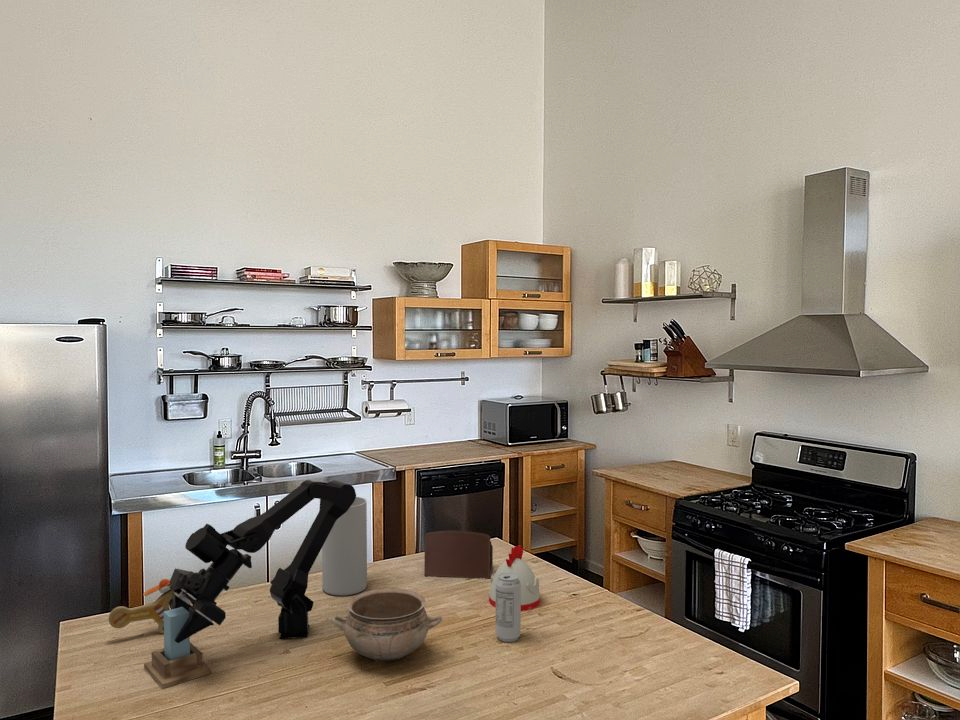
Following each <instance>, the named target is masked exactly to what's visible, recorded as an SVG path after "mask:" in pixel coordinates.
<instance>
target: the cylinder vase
mask: <svg viewBox="0 0 960 720" xmlns="http://www.w3.org/2000/svg"><path fill="white" fill-rule="evenodd" d="M367 510H368V509H367V499H366V498H364V497H360V496H356V498H355V501H354V502H353V504H352V505H351V507H350V508H349V509H348V511H347V512H346V513H345V514H343V515H342V516H341V517H340V518H338V519H337V520H336V522H335V524H334V526H333V528H332V530H331V532H330V533H329V535H328V537H327V539H326V541H325V543H324V545H323V547H322V549H321V560H322V562H321V565H322V566H321V573H322V575H321V577H322V578H321V580H322V581H321V583H322V586H321V587H322V590H323V591H324V592H325V593H326V594H328V595H332V596H338V597H340V596H341V597H342V596H345V597H346V596H353V595H356V594H360V593H361V592H363V591H364V590H366V589H367V586H368V539H367V538H368V537H367V536H368V534H367V533H368V530H367V529H368V527H367V526H368V525H367V524H368V523H367V522H368V519H367V518H368V517H367V516H368V515H367Z"/></svg>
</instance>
